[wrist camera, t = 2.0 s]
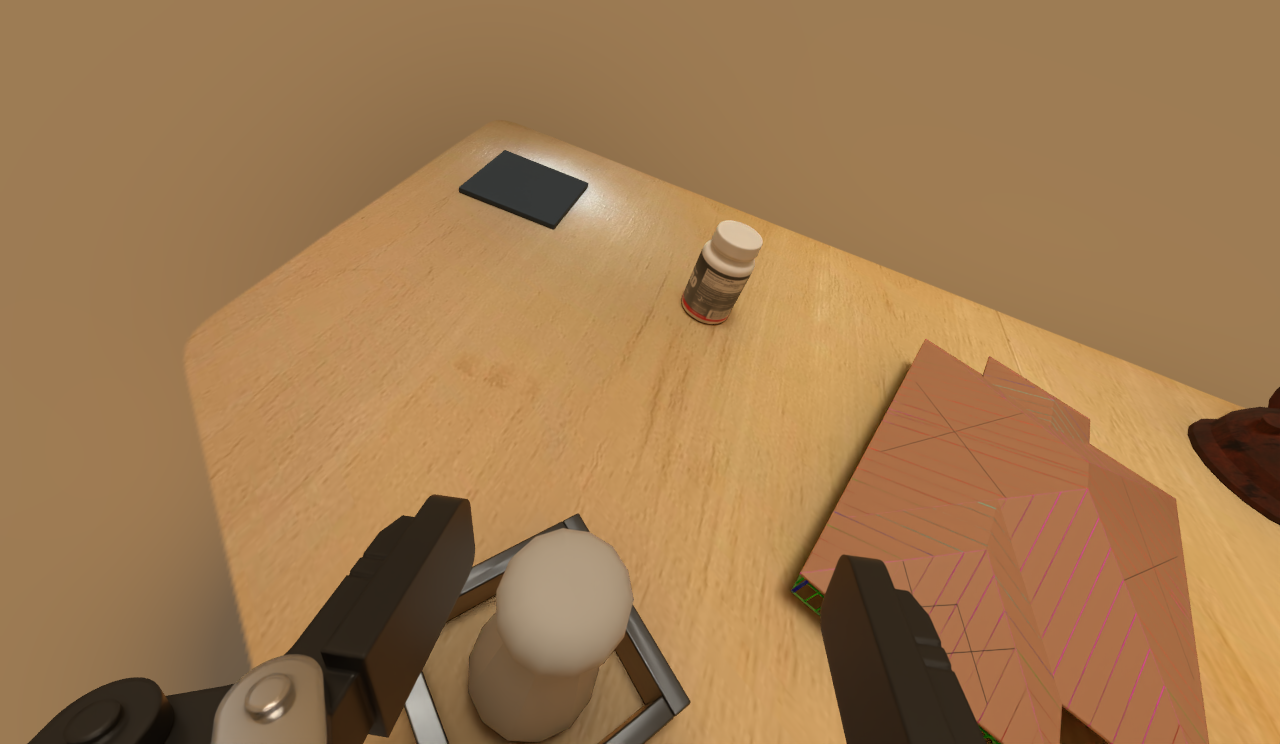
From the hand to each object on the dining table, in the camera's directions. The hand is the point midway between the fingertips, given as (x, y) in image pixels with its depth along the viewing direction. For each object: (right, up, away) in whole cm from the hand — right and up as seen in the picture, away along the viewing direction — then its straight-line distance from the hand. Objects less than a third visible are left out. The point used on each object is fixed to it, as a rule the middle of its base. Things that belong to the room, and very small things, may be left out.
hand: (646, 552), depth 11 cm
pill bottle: (+6, +10, +36) cm, 38 cm away
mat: (-12, +23, +41) cm, 49 cm away
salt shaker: (-6, -11, +14) cm, 18 cm away
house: (+27, -9, +27) cm, 39 cm away
